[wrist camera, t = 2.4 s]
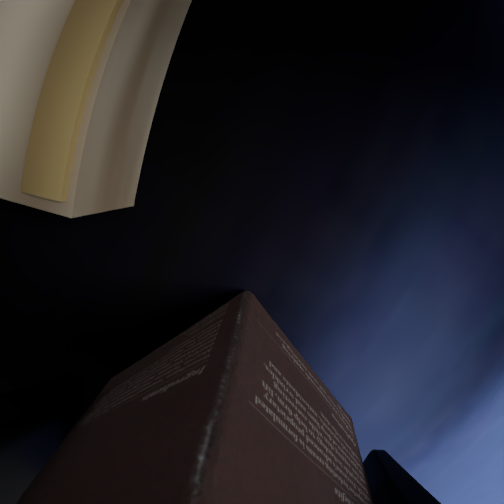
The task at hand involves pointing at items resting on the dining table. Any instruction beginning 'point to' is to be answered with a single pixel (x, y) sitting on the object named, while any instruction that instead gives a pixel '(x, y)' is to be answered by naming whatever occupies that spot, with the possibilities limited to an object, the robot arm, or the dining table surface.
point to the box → (211, 426)
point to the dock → (80, 98)
